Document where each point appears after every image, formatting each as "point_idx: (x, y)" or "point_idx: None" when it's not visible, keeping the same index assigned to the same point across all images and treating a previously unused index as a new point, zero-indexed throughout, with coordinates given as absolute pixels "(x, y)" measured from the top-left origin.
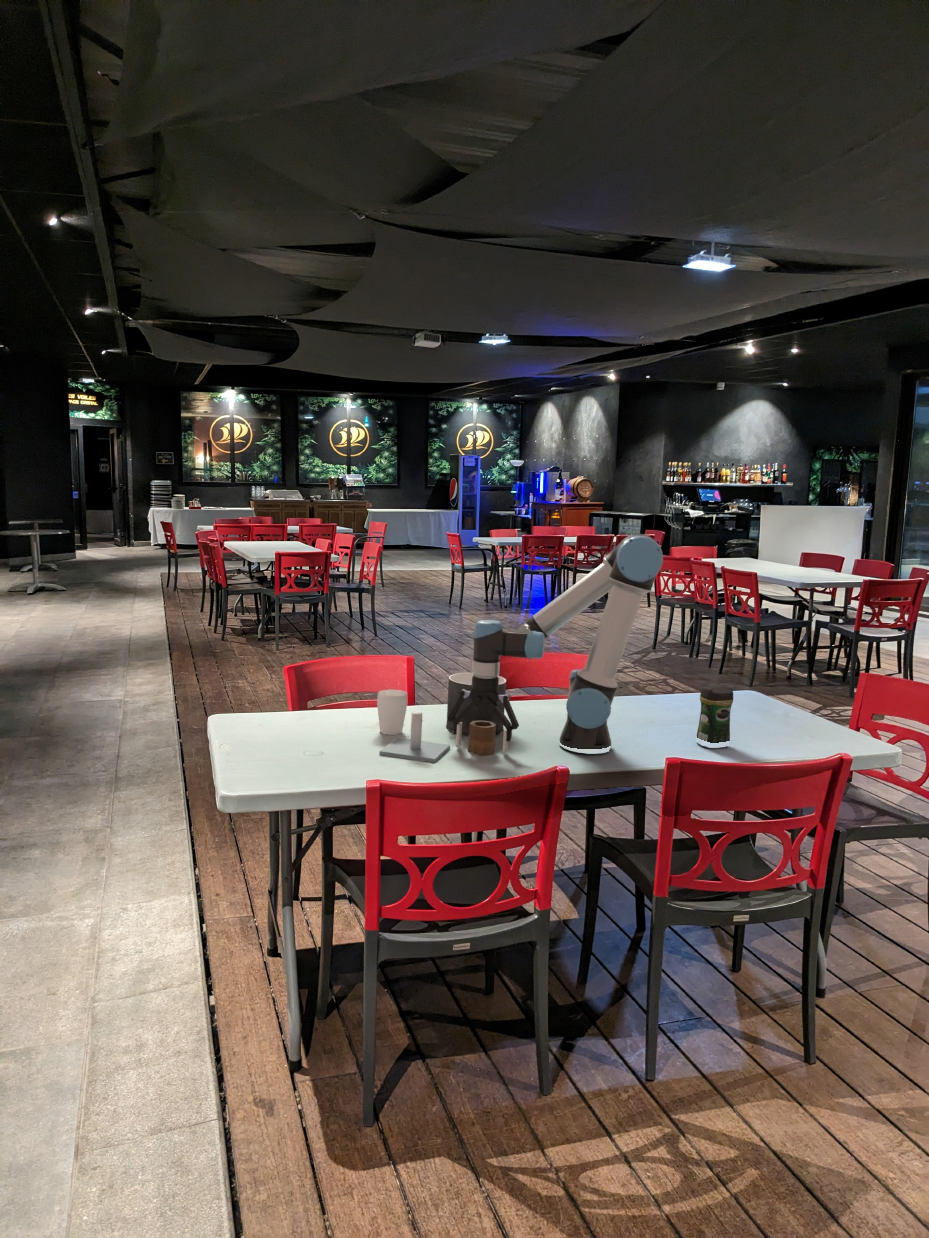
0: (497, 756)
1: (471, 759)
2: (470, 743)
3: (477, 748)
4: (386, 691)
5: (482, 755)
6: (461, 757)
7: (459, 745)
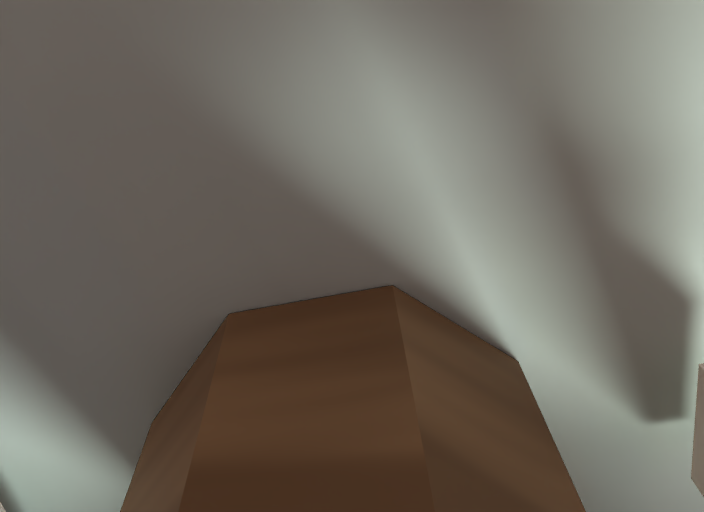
0: (39, 395)
1: (286, 14)
2: (506, 428)
3: (325, 356)
4: None
5: (239, 312)
6: (498, 11)
7: (699, 416)
